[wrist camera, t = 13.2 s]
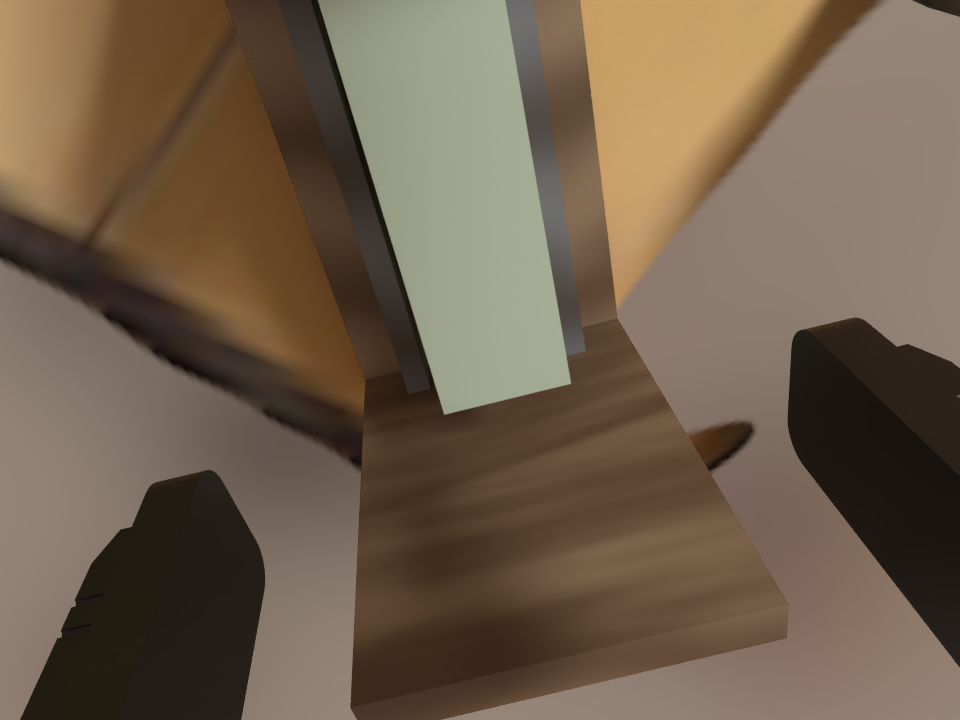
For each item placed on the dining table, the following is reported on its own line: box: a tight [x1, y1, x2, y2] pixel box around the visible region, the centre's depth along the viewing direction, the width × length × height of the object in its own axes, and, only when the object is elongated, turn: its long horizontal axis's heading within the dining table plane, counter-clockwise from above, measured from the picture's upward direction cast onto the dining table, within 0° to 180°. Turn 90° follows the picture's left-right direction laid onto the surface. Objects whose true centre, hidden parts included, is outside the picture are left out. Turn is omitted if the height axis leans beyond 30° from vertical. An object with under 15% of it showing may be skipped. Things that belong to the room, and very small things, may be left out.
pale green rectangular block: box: [318, 0, 571, 415], centre depth 22 cm, size 12×4×10 cm, turn 12°
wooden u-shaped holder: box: [225, 0, 789, 720], centre depth 20 cm, size 24×12×18 cm, turn 12°
